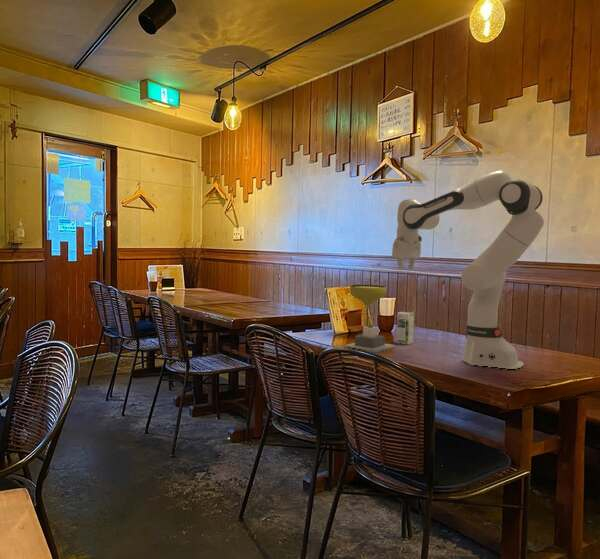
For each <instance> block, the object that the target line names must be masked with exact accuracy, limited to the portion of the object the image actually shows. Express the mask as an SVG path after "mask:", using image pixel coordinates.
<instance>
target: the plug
mask: <svg viewBox="0 0 600 559" xmlns="http://www.w3.org/2000/svg"><path fill="white" fill-rule="evenodd" d="M362 333H363V337H369V338H375V337H377V335H378V327H377V326H374V324H368V326H363V327H362Z"/></svg>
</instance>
